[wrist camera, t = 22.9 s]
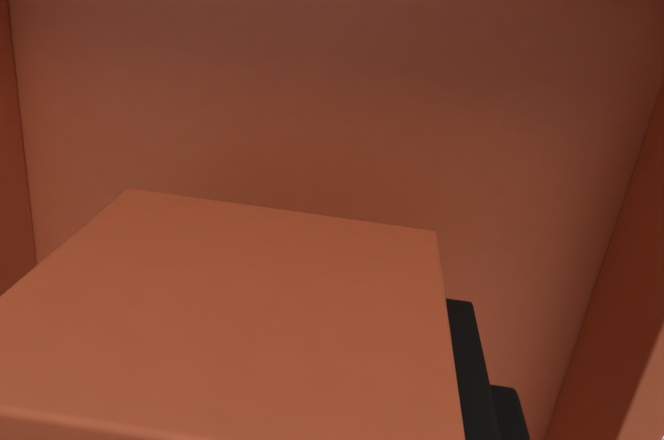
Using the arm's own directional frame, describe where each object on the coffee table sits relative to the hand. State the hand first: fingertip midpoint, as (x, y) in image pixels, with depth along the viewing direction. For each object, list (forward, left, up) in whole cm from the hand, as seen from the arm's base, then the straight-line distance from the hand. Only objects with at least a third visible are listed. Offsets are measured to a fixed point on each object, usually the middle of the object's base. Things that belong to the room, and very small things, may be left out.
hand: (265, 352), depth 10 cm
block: (0, 0, 0) cm, 0 cm away
